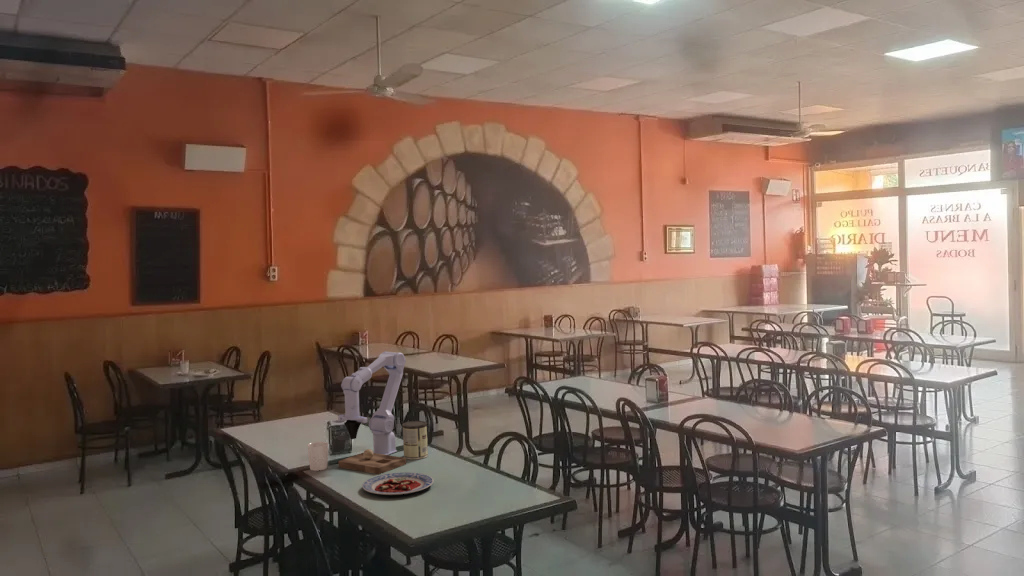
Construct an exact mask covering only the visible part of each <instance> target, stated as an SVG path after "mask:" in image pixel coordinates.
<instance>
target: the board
mask: <svg viewBox="0 0 1024 576" xmlns="http://www.w3.org/2000/svg"><path fill="white" fill-rule="evenodd" d="M363 453H364V452H362V453H358V454H355V455H352V456H349V457H346V458H344V459H340V460H338V468H342V469H348V470H354V471H359V472H364V473H371V474H375V475H376V474H377V475H382V474H385V473H387V472H389V471H392V470H394V469H397V468H400V467H401V466H406V465H407V459H406V458H404V456H403V457H402V456H396V455H391V454H389V455H383V454H377V453H373V457H372V458H371V459H366V458H365V457H364V455H363ZM381 473H382V474H381Z"/></svg>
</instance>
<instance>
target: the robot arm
mask: <svg viewBox="0 0 1024 576" xmlns="http://www.w3.org/2000/svg"><path fill="white" fill-rule="evenodd" d="M406 361H407V360H406V357H405V355H404V353H402V352H400V351H399V352H394V351H386V350H385V351H383V352H381V353H380V354H379V355H378V357H377V358H376V359H375V360H373V361H372V362H371V363H370V364H369V365H368V366H360V367H359V368H358V370H357V371H355V372H353V373H351V375H350V376H345V377H344V378H343V379H342V381H341V384H340V387H341V389H342V391H343V394H344V409H345V411H344V413H345V414H339V415H338V416H337V418H338V421H345V422H344V423H343V424H344V426H345V427H346V429H347V432H348V435H349V438H350V440H355V439H357V436H358V431H359V428H360V427H361V424H362V423H363V424H366V423H368V428H369V430H370V431H371V433H372V440H373V441H372V442H373V443H372V444H373V453H377V454H383V455H391V454H394V453H397V452H398V450H397V444H396V436H395V433H394V432H393V429H394V428H395V427H394V426H395V424H394V423H395V416H394V415H393V414H392V412H393V408H394V405H395V402H396V398H397V395H398V392H399V388H400V385H401V381H402V378H403V375H404V368H405V364H406ZM381 368H384V369H385V370H386V372H387V373H388V375H389V376H388V378H387V382H386V385H385V388H384V392H383V395H382V398H381V402H380V405H379V408H378V409H377V410H376V411H375V412H373V414H372V417H371V418H370V419H369V421H368V417H365V416H362V415H360V390H361V389H362V385H364V384H365V383H367V382H368V381H369V380H370V379H371V378H372V376H373V374H374V373H376V372H377V371H379V370H380V369H381Z"/></svg>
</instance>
